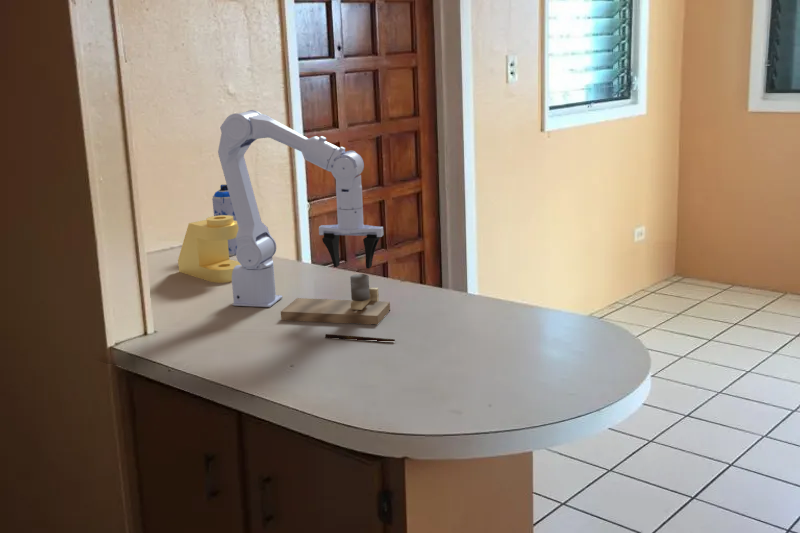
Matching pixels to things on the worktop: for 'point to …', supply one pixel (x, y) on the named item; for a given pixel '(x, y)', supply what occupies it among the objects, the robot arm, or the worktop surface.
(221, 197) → the aerosol can
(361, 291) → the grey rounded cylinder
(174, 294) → the worktop surface
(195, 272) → the yellow bracket
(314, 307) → the board
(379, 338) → the dark notched rod
